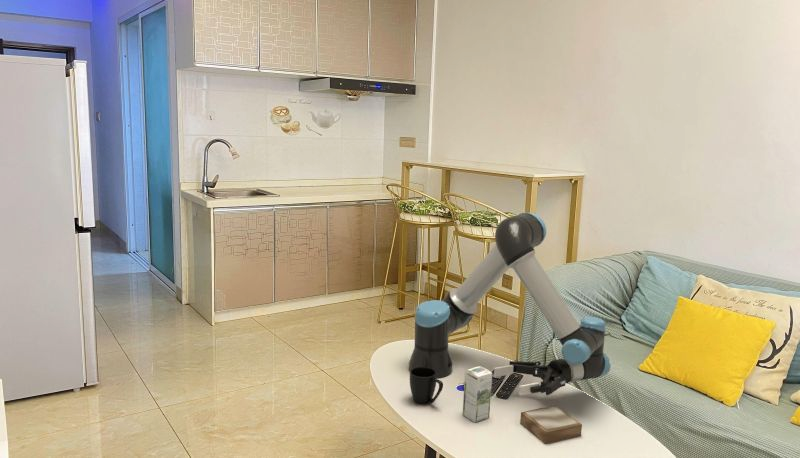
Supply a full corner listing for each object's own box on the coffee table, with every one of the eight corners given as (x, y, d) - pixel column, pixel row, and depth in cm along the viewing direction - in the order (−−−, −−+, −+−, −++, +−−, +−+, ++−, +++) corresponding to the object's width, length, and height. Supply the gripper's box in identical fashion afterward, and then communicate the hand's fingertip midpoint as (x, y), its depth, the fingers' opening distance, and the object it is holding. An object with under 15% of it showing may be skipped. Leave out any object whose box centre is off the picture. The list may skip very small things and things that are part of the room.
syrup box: (476, 410, 182) (478, 364, 179) (490, 418, 177) (492, 371, 175) (462, 415, 179) (464, 369, 176) (475, 423, 174) (478, 376, 171)
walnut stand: (520, 423, 175) (521, 411, 174) (554, 416, 179) (555, 404, 179) (545, 444, 164) (546, 431, 163) (581, 436, 169) (582, 423, 168)
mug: (430, 414, 179) (431, 384, 177) (403, 399, 188) (404, 370, 186) (449, 406, 184) (451, 376, 182) (423, 392, 193) (423, 364, 191)
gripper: (591, 398, 178) (530, 411, 169) (540, 366, 200) (484, 376, 192) (592, 374, 176) (532, 386, 168) (541, 345, 199) (485, 354, 191)
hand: (506, 381), depth 180 cm, fingers open, 13 cm apart
